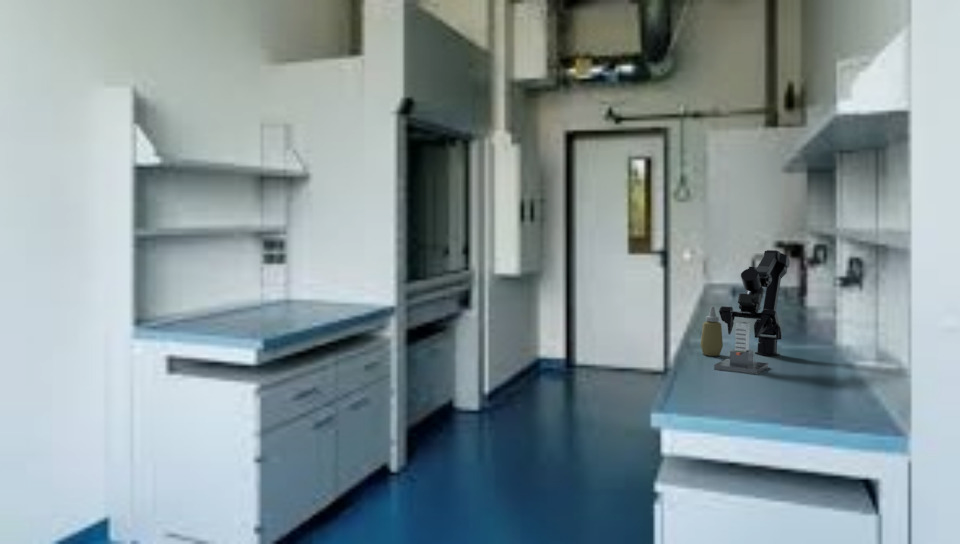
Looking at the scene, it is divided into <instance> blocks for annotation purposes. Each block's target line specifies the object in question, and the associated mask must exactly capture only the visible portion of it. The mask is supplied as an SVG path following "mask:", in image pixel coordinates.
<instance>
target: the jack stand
mask: <svg viewBox="0 0 960 544" xmlns="http://www.w3.org/2000/svg"><path fill="white" fill-rule="evenodd" d="M729 352H730V353H729V358H726V359H724V360H721V361H719V362H717V363H715V364H714V365H713V369H714V370H716V369H717V370H718V371H725V372H726V371H727V372H734V373H741V374H743V373H744V374H750V375H758V374H760V373H762V372H763V371H765V370H767V369H768V368H769V363H768V362H767V363H766V362H759V361H754V350H751V349H749V352H747V353H746V352H737V351H735V348H734V349H732V350H730V351H729Z"/></svg>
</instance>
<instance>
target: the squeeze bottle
mask: <svg viewBox="0 0 960 544" xmlns="http://www.w3.org/2000/svg"><path fill="white" fill-rule="evenodd" d="M719 321H720V317H719V316H717V315H716V309H715V306H711V307H710V310H709V313H708V315H707V316H705V321H704V322H702V329H701V330H702V331H701V336H700V344H699V345H700V348H701V351H702V354H703V355H704V356H709V357H717V356H720V354H721V351H722V349H723V347H724V345H723V344H724V343H723V332H722V331H723V329H722V324H721V323H720V322H719Z"/></svg>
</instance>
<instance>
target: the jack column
mask: <svg viewBox="0 0 960 544" xmlns="http://www.w3.org/2000/svg"><path fill="white" fill-rule="evenodd" d="M750 325H751V323H750V322H749V321H737V322H735V339H734V341H735V342H734V349H735V351H737V352H746V353H747V352H749V350H750V330H751V329H750V328H751V327H750Z"/></svg>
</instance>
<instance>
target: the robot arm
mask: <svg viewBox="0 0 960 544" xmlns="http://www.w3.org/2000/svg"><path fill="white" fill-rule="evenodd" d="M790 261H791V260H790V257H788V255H787V254H785V253H781V251H779V250H777V249H775V250H773V249H767V250H765V251H764V253H763V257H762V258H761V260H760V262H759V264H758V266H756V267H755V266H748V268H745V269H744V270H743V271H742V272H741V273H740V278H741V282H742V285H743V288H744V290H746V291H745V293H744V292H743V293H738V297H737V299H738V300H737V304H738V305H739V306H738V309H739V310H734V308H733V306H723V305H722V306H720V307H719V309H718V310H719V311H718V313H719V316H720V319H721V321H722V322H724V324H726V326H727V332H728V333H727V334H728V335H731V333H732V331H733V327H734V324H735V322H734V321H735V318H743V319H751V320H755V322H754V325H753V330H754V338H755V339H757V338H758V342H757V351H754V354H756V355H760V356H765V357H772V356H773V357H774V356H780V355H781V353H780V352H779V353H778V352H777V350H778V348H777V347H778V341H779V340H783V339H782V338H783V336H782V329H781V325H780V321H779V317H778V314H777V307H778V300H779V294H780V286H781V280H782V279H783V277H784V276H785V275H786V274H787V273H788V268H789V267H790V263H791V262H790ZM764 288H766V289H764ZM765 290H766V291H765ZM764 292H765V293H764ZM764 294H765V296H764ZM763 298H764V301H762V300H763ZM762 302H763V308H762V307H761V304H762ZM761 308H762V311H761V312H759V311H760V310H761Z"/></svg>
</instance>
